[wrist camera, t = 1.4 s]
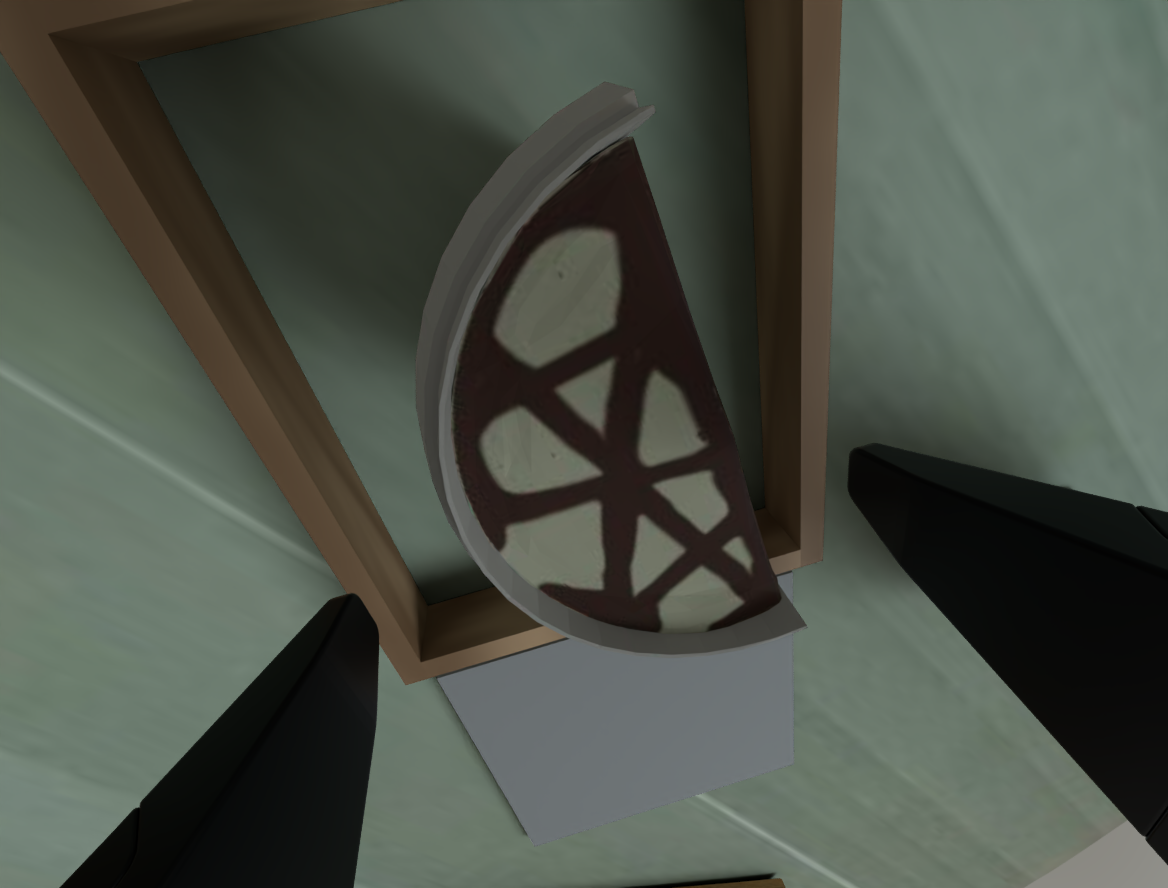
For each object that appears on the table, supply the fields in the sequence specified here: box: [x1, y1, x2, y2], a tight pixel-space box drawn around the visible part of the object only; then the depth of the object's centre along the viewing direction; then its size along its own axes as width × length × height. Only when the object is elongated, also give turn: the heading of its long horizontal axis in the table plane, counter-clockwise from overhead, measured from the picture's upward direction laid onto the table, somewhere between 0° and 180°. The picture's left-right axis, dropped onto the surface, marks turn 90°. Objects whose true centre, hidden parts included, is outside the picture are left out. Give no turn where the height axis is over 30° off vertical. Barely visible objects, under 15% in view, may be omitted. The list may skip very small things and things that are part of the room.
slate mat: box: [437, 570, 794, 846], centre depth 29 cm, size 18×18×1 cm
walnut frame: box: [0, 0, 842, 685], centre depth 17 cm, size 18×22×3 cm
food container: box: [415, 82, 808, 658], centre depth 14 cm, size 12×6×10 cm, turn 23°
